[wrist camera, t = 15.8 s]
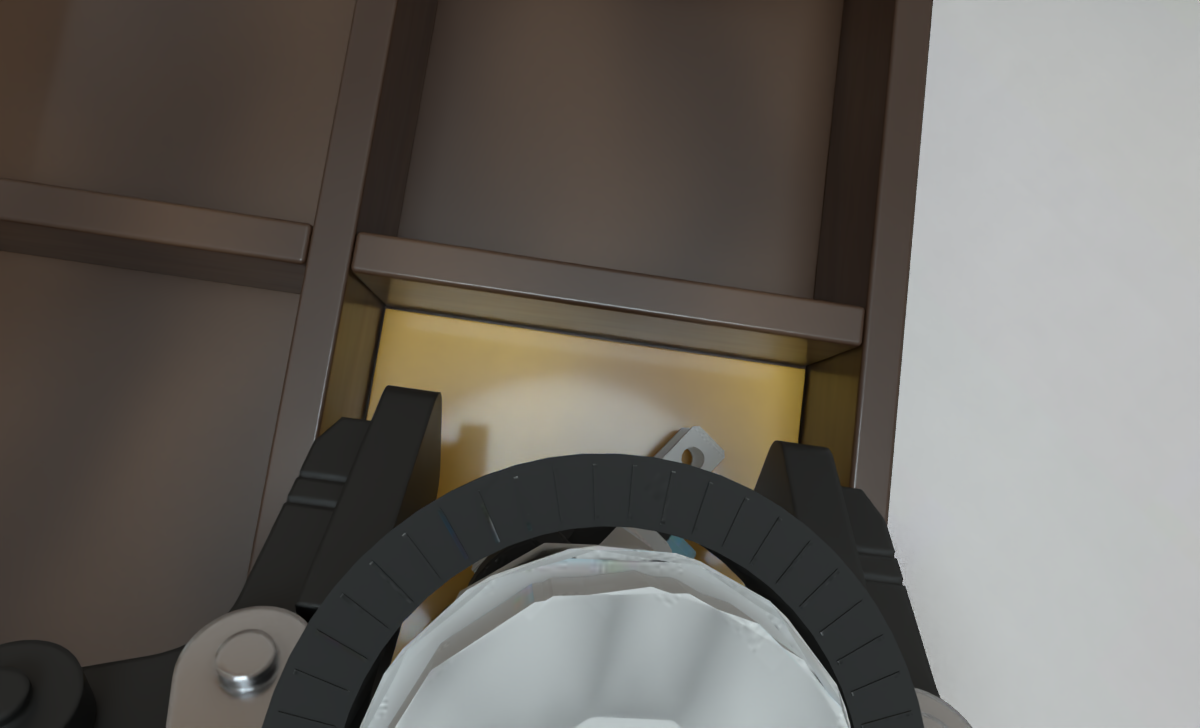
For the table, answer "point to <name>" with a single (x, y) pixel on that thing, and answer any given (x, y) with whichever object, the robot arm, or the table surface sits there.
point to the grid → (424, 261)
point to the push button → (601, 611)
